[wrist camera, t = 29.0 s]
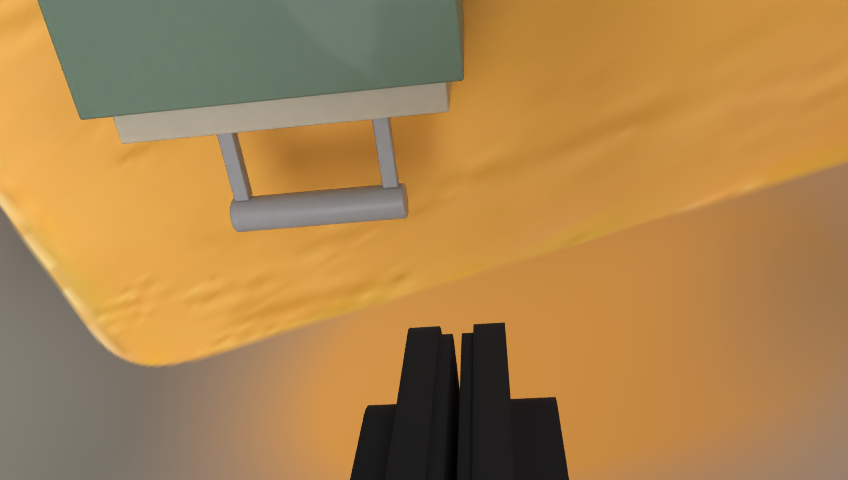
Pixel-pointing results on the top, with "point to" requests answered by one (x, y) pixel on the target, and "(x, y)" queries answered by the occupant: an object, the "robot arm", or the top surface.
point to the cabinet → (247, 50)
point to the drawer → (295, 113)
